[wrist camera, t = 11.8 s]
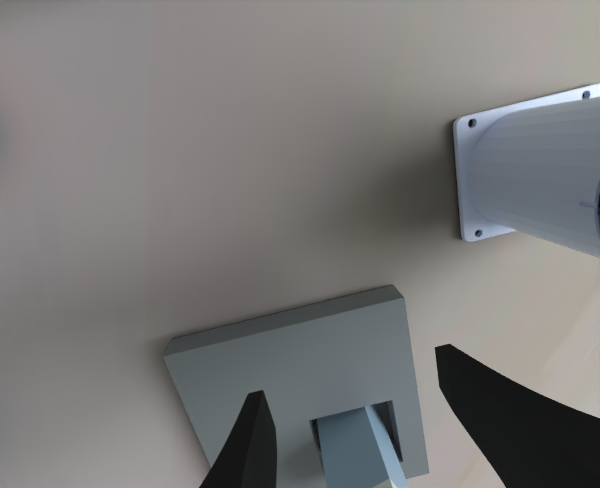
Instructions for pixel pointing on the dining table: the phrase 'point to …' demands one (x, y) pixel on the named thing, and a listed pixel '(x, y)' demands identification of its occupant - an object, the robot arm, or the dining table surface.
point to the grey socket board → (304, 378)
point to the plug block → (358, 451)
